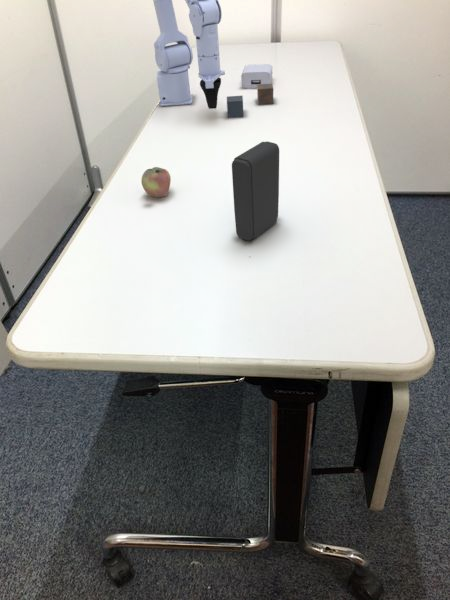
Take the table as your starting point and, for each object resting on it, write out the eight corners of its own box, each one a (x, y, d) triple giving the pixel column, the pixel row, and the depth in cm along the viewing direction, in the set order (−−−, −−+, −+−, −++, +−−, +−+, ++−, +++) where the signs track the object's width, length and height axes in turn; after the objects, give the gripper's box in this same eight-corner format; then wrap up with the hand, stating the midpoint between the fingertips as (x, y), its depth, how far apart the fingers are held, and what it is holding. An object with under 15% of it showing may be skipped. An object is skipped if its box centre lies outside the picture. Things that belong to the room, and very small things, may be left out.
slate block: (227, 118, 129) (226, 101, 126) (227, 112, 132) (226, 96, 129) (243, 117, 129) (242, 100, 126) (243, 111, 132) (242, 95, 129)
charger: (273, 74, 157) (270, 87, 146) (246, 74, 159) (241, 88, 148) (273, 58, 154) (270, 71, 143) (245, 59, 156) (241, 72, 145)
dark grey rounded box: (263, 215, 88) (262, 137, 79) (280, 221, 86) (282, 142, 77) (233, 237, 83) (228, 157, 74) (251, 244, 81) (248, 163, 71)
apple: (140, 205, 94) (135, 178, 90) (147, 187, 100) (142, 161, 96) (169, 204, 94) (165, 177, 90) (174, 186, 100) (171, 160, 96)
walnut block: (258, 105, 135) (257, 89, 132) (257, 100, 138) (257, 84, 136) (273, 104, 135) (273, 88, 132) (272, 99, 138) (272, 83, 135)
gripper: (223, 60, 114) (226, 116, 123) (223, 46, 125) (226, 98, 134) (195, 62, 115) (200, 117, 124) (197, 48, 126) (202, 100, 135)
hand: (212, 107), depth 129 cm, fingers closed
